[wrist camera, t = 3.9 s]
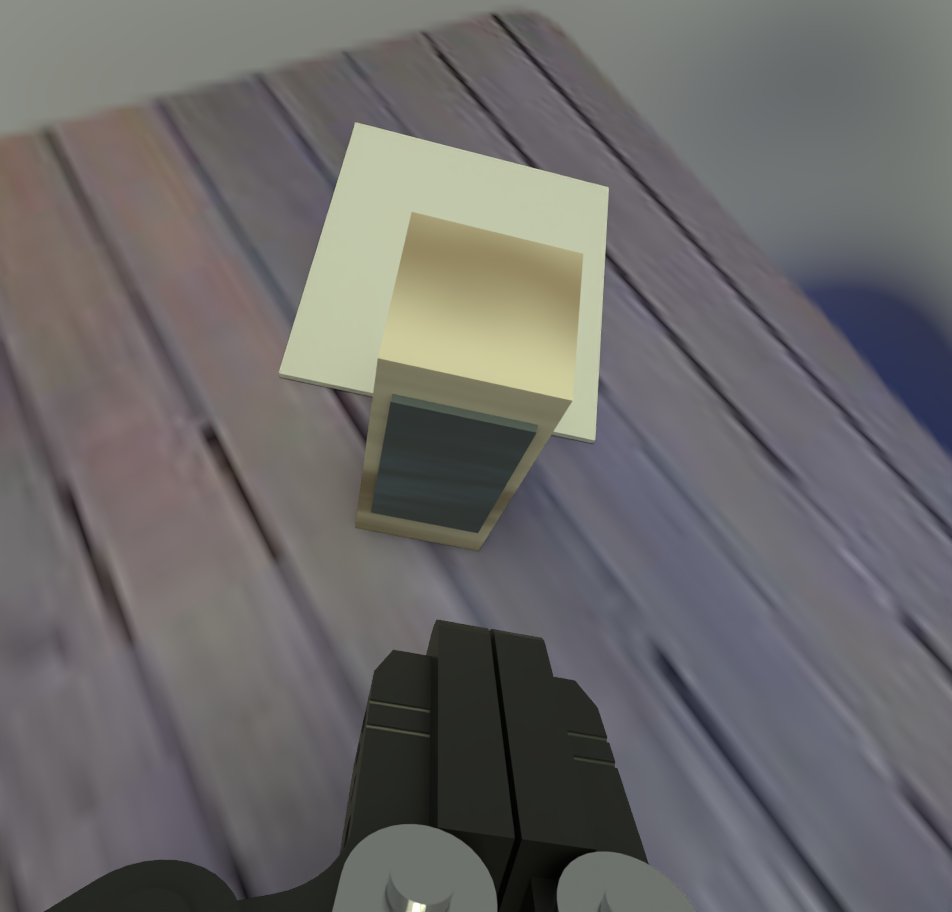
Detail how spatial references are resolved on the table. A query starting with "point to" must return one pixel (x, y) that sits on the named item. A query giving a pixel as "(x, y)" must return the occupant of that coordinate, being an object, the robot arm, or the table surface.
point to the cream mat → (382, 240)
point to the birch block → (466, 379)
